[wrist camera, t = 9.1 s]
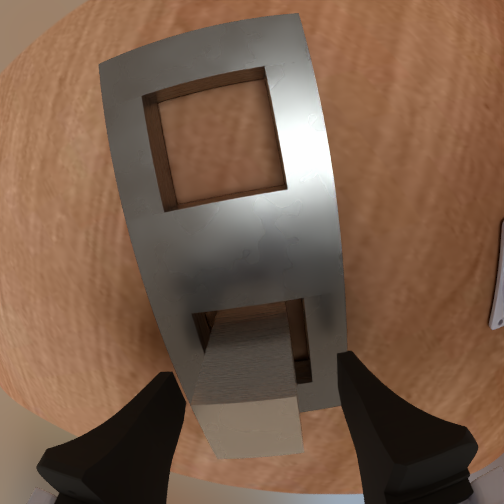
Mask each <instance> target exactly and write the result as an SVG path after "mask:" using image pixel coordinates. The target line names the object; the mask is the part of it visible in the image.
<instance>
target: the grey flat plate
mask: <svg viewBox="0 0 504 504" xmlns="http://www.w3.org/2000/svg"><path fill="white" fill-rule="evenodd" d="M99 74H100V83H101V92H102V100H103V108H104V115H105V122H106V128H107V134H108V140H109V146H110V151H111V157H112V162H113V167H114V172H115V177H116V182H117V186H118V191H119V195H120V199H121V204H122V208H123V212H124V216H125V220H126V224H127V228H128V231H129V235H130V239H131V243H132V246H133V250H134V253H135V257H136V260H137V263H138V267H139V270H140V273H141V277H142V280H143V283H144V286H145V289H146V292H147V295H148V298H149V301H150V304H151V307H152V310H153V313H154V316H155V319H156V321H157V324H158V327H159V330H160V332H161V335H162V338H163V340H164V343H165V346H166V348H167V351H168V353H169V356H170V358H171V361H172V363H173V366H174V368H175V371H176V373H177V375H178V378H179V380H180V383H181V385H182V387H183V389H184V392H185V394H186V396H187V399H188V401H189V403H190V405H191V402H192V399H193V395H194V391H195V388H196V384H197V381H198V377H199V374H200V370H201V367H202V363H203V359H204V356H205V352H206V349H207V345H208V342H209V338H210V335H211V333H210V330H209V326H208V323H207V319H206V316H205V312H208V311H216V310H224V309H231V308H239V307H246V306H253V305H260V304H267V303H274V302H280V301H287V300H293V299H299V298H302V306H303V315H304V323H305V331H306V340H307V349H308V359H309V360H304V361H298V362H294V365H295V373H296V382H297V390H298V399H299V408H300V412H306V411H313V410H319V409H325V408H330V407H336V406H341V401H340V396H339V391H338V378H337V353H341V352H346V351H347V323H346V301H345V284H344V270H343V257H342V246H341V236H340V226H339V217H338V209H337V200H336V193H335V185H334V178H333V171H332V165H331V158H330V152H329V146H328V140H327V134H326V129H325V123H324V118H323V113H322V108H321V103H320V98H319V93H318V88H317V84H316V79H315V75H314V71H313V66H312V62H311V58H310V54H309V50H308V46H307V42H306V38H305V35H304V31H303V27H302V24H301V20H300V17H299V13H295V14H284V15H274V16H266V17H259V18H252V19H246V20H240V21H234V22H229V23H224V24H219V25H215V26H210V27H206V28H202V29H198V30H194V31H190V32H186V33H183V34H179V35H176V36H172V37H169V38H166V39H163V40H160V41H157V42H154V43H151V44H148V45H145V46H142V47H139V48H137V49H134V50H131V51H129V52H126V53H124V54H121V55H119V56H116V57H114V58H111V59H109V60H107V61H104V62H102V63H100V64H99ZM262 78H265V83H266V87H267V92H268V97H269V102H270V107H271V112H272V117H273V123H274V128H275V133H276V138H277V144H278V149H279V155H280V160H281V166H282V172H283V178H284V184H285V185H281V186H275V187H269V188H263V189H257V190H252V191H246V192H240V193H235V194H229V195H224V196H219V197H214V198H209V199H204V200H199V201H194V202H189V203H184V204H179V205H177V202H176V197H175V193H174V188H173V184H172V179H171V174H170V169H169V164H168V159H167V154H166V149H165V144H164V139H163V133H162V128H161V122H160V117H159V111H158V105H157V103H158V102H161V101H165V100H168V99H171V98H175V97H179V96H182V95H186V94H190V93H194V92H198V91H202V90H206V89H210V88H215V87H219V86H224V85H229V84H234V83H239V82H244V81H250V80H256V79H262ZM192 410H193V409H192ZM193 412H194V411H193ZM194 414H195V413H194Z"/></svg>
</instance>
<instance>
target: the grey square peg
mask: <svg viewBox="0 0 504 504" xmlns="http://www.w3.org/2000/svg"><path fill="white" fill-rule="evenodd" d="M191 407H192V409H193V411H194V413H195V416H196V418H197V420H198V422H199V424H200V426H201V428H202V430H203V432H204V434H205V436H206V438H207V440H208V442H209V444H210V446H211V448H212V450H213V452H214V453H215V455H216V457H217V459H235V458H256V457H269V456H280V455H289V454H297V453H304V446H303V436H302V427H301V417H300V408H299V399H298V390H297V382H296V373H295V365H294V357H293V350H292V343H291V336H290V330H289V323H288V317H287V310H286V304H285V301H280V302H274V303H267V304H260V305H253V306H246V307H239V308H231V309H224V310H218V311H217V314H216V318H215V321H214V325H213V328H212V332H211V335H210V338H209V342H208V345H207V349H206V352H205V356H204V359H203V363H202V367H201V370H200V374H199V377H198V381H197V384H196V388H195V391H194V395H193V399H192V402H191Z"/></svg>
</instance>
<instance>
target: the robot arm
mask: <svg viewBox="0 0 504 504" xmlns="http://www.w3.org/2000/svg"><path fill="white" fill-rule="evenodd" d="M502 326H504V221H503V223H502V234H501V248H500V259H499V268H498V276H497V283H496V290H495V296H494V301H493V307H492V312H491V317H490V321H489V327H490V328H491V329H492V330H495V329H497V328H499V327H502ZM337 378H338V391H339V396H340V401H341V406H342V409H343V412H344V415H345V418H346V421H347V424H348V427H349V430H350V434H351V437H352V440H353V443H354V446H355V450H356V453H357V458H358V464H359V469H360V475H361V481H362V488H363V495H364V502H365V504H504V470H503V468H502V467H501V466H498V467H496V468H495V469H493V470H491V471H489V472H488V473H486V474H484V475H482V476H480V477H479V478H477V479H475V480H474V481H473V482H471V483H470V482H469V480H468V477H469V476H470V473H469V470H468V468H467V467H468V466H469V464H470V463H471V461H472V460H473V458H474V457H475V455H476V453H477V450H478V444H477V442H476V440H475V439H474V437H473V435H472V434H471V433H470V431H469V430H468V429H467V427H465V426H461V425H458V424H455V423H451V422H448V421H445V420H442V419H440V418H437V417H435V416H432V415H430V414H428V413H426V412H424V411H422V410H420V409H418V408H417V407H415V406H413V405H412V404H410V403H408V402H407V401H405V400H404V399H402V398H401V397H399V396H398V395H397V394H395V393H394V392H393V391H391V390H390V389H389V388H388V387H387V386H385V385H384V384H383V383H382V382H381V381H380V380H379V379H378V378H377V377H376V376H374V375H373V374H372V373H371V372H370V371H369V370H368V369H367V368H366V366H365V365H364V364H363V363H362V362H361V361H360V360H359V359H358V358H357V356H356V355H355V354H354V353H353V352H352V351H346V352H341V353H337ZM185 407H186V401H185V399H184V397H183V395H182V392H181V390H180V388H179V386H178V383H177V381H176V379H175V376H174V374H173V372H160V373H159V374H158V375H157V376H156V377H155V378H154V379H153V380H152V381H150V383H149V384H148V385H147V386H146V387H145V388H144V389H143V390H141V391H140V392H139V393H138V394H137V395H136V396H135V397H134V398H133V399H132V400H131V401H130V402H129V403H128V404H127V405H126V406H124V407H123V408H122V409H121V410H120V411H119V412H117V413H116V414H115V415H114V416H112V417H111V418H110V419H108V420H107V421H106V422H104V423H103V424H101V425H100V426H98V427H96V428H95V429H93V430H91V431H89V432H88V433H86V434H84V435H82V436H80V437H78V438H76V439H74V440H71V441H69V442H67V443H64V444H61V445H58V446H55V447H52V448H48V449H47V450H46V451H45V453H44V455H43V456H42V458H41V460H40V462H39V463H38V465H37V471H38V472H39V474H40V475H41V476H42V477H43V478H44V479H45V480H46V481H47V482H48V483H49V484H50V485H51V486H52V487H53V488H54V489H56V490H57V491H58V492H59V495H58V497H56V496H55V495H53V494H51V493H49V492H47V491H45V490H42V489H40V488H38V487H35V489H34V491H33V493H32V495H31V497H30V498H29V501H28V503H27V504H166V498H167V488H168V481H169V474H170V467H171V463H172V459H173V455H174V452H175V449H176V445H177V442H178V439H179V435H180V432H181V428H182V425H183V421H184V415H185Z"/></svg>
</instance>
